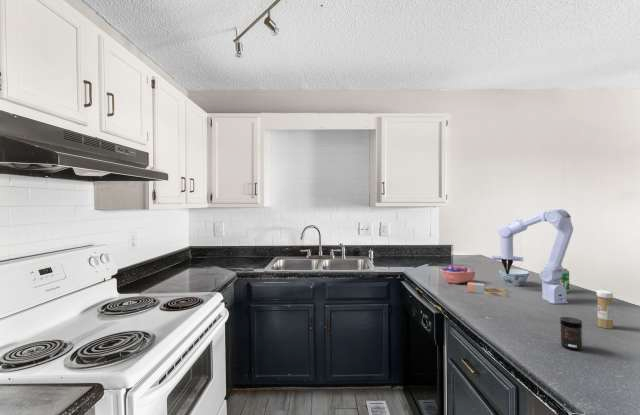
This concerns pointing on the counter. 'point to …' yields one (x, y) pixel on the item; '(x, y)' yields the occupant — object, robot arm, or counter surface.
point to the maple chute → (494, 292)
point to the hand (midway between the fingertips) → (507, 273)
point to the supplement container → (571, 333)
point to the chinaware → (514, 276)
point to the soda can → (565, 279)
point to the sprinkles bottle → (605, 309)
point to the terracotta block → (471, 287)
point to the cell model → (457, 274)
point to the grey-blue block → (480, 288)
